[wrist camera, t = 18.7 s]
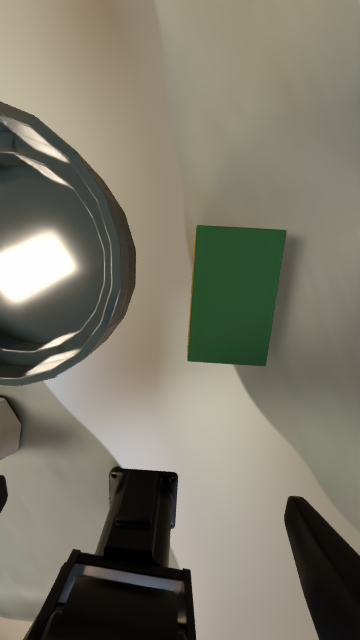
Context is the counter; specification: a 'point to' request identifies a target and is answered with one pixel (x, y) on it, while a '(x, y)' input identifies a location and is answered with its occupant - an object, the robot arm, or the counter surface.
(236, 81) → the counter surface
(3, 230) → the bowl
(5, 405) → the flask
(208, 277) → the sponge
